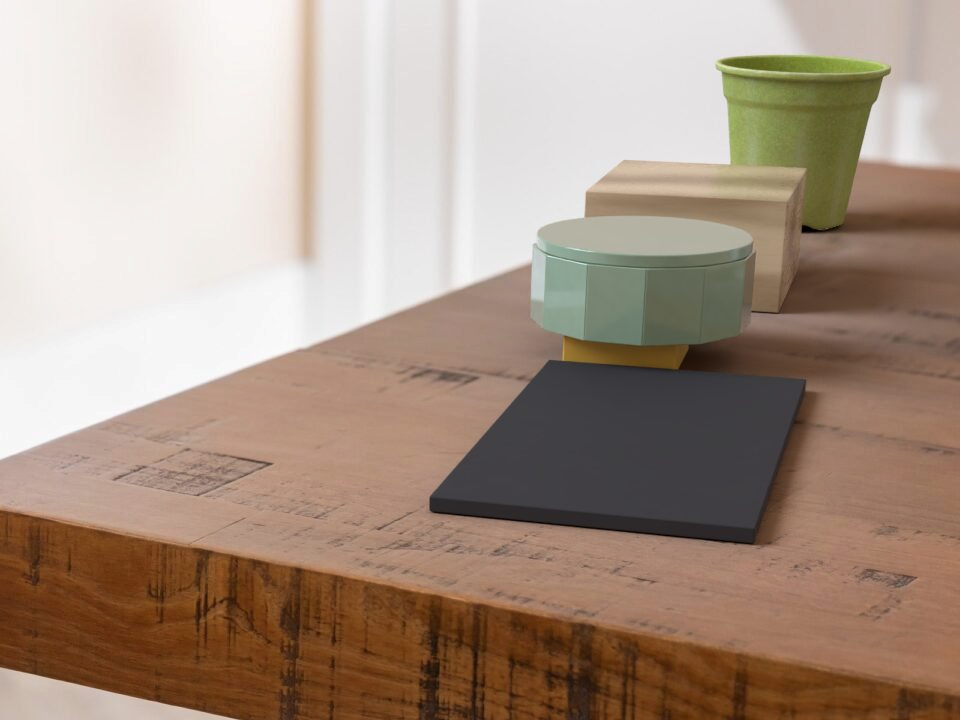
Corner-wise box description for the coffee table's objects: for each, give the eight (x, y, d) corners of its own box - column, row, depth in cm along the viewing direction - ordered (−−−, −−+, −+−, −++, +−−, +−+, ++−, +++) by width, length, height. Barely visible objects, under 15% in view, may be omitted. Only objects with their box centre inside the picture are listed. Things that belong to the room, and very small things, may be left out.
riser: (618, 259, 95) (623, 159, 93) (798, 269, 93) (807, 167, 91) (580, 300, 86) (585, 190, 84) (778, 313, 84) (787, 200, 82)
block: (566, 256, 73) (561, 369, 75) (682, 263, 72) (674, 377, 73) (585, 236, 77) (580, 343, 79) (695, 242, 76) (688, 350, 77)
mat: (548, 371, 74) (548, 359, 74) (805, 391, 71) (806, 378, 71) (428, 511, 58) (429, 496, 58) (753, 544, 55) (754, 528, 55)
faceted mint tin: (566, 257, 70) (562, 349, 71) (785, 252, 71) (778, 341, 73) (515, 217, 78) (512, 300, 79) (713, 213, 79) (707, 295, 80)
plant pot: (903, 220, 105) (920, 61, 102) (827, 245, 99) (843, 75, 95) (754, 202, 111) (766, 51, 108) (673, 224, 104) (683, 63, 101)
